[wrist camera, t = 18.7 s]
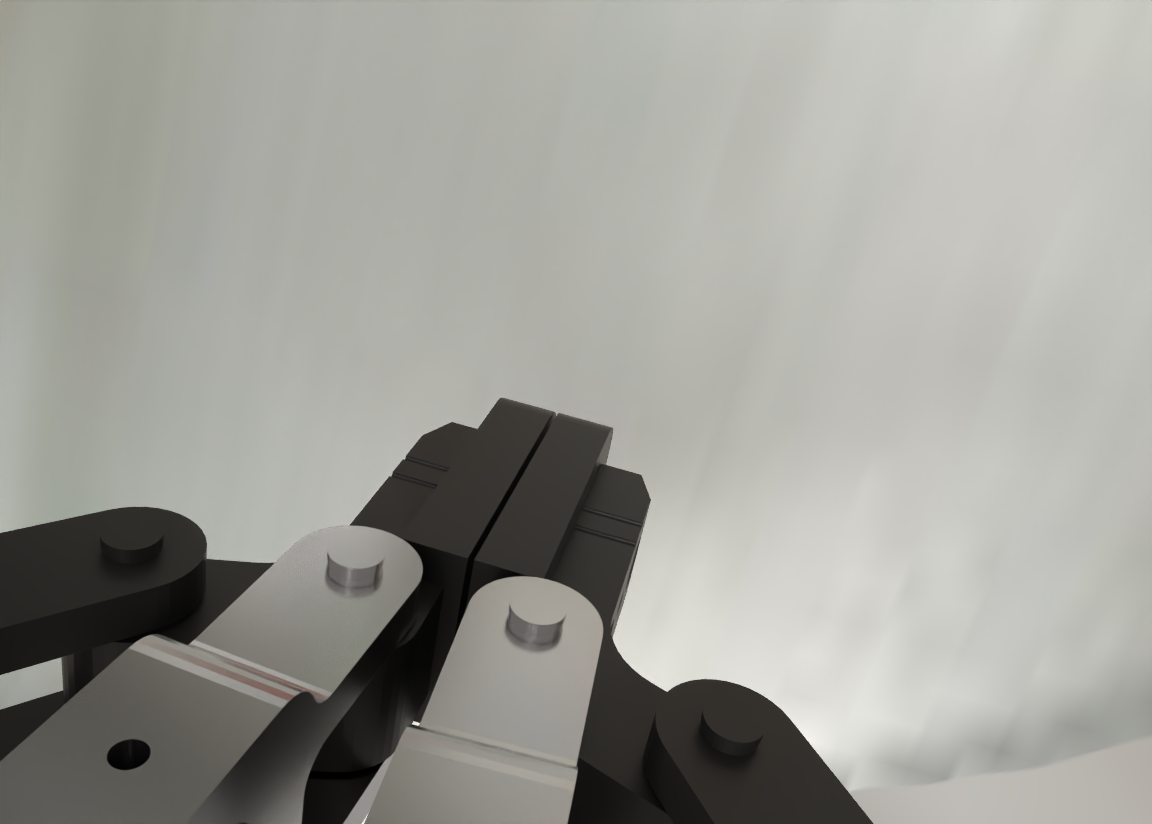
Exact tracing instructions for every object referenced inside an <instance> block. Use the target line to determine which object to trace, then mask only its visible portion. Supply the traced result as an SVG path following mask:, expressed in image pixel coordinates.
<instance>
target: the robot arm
mask: <svg viewBox="0 0 1152 824" xmlns="http://www.w3.org/2000/svg"><path fill="white" fill-rule="evenodd" d="M612 434H613V428H611V427H608V426H604V425H600V424H597V423H593V422H590V421H586V420H582V419H579V418H575V417H572V416H568V415H564V414H561V413H559V414H558V415H557V416H556V413H555V412H553V411H549V410H545V409H542V408H538V407H535V406H531V405H527V404H524V403H520V402H517V401H513V400H509V399H506V398H500V399H499V400H498V401H497V403H496V404H495V406H494V407H493V408H492V410H491V411H490V413H489V414H488V415H487V417H486V418H485V420H484V421H483V422H482V424H481V425H480V427H479V428H478V429H475V428H471V427H468V426H464V425H461V424H457V423H453V422H451V423H449V424H447V425H445V426H442V427H440V428H438V429H436V430H434V431H431V432H429V433H427V434H425V435H423V436H422V437H421V438H420V439H419V440H418V442H417V443H416V444H415V445H414V447H413V448H412V449H411V450H410V452H409V453H408V454H407V455H406V459H405V460H402V461H401V463H400V464H399V465H398V466H397V468H396V469H395V470H394V471H393V474H392V477H390V476H389V477H388V479H387V480H386V481H385V482H384V484H383V485H382V486H381V487H380V489H379V490H378V491H377V492H376V494H375V495H374V496H373V497H372V498H371V500H370V501H369V502H368V503H367V505H366V506H365V507H364V508H363V510H362V511H361V512H360V513H359V514H358V516H357V517H356V518H355V519H354V521H353V522H352V523H351V524H350V526H337V527H330V528H326V529H321V530H318V531H316V532H313V533H310V534H309V535H307V536H305V537H303V538H302V539H300V540H299V541H298V542H296V543H295V544H294V545H293V546H292V547H291V548H290V549H289V550H288V551H287V552H286V553H285V554H284V555H283V556H282V557H281V558H279V559H278V560H277V561H276V562H275V563H252V562H239V561H225V560H212V559H206V556H207V542H206V537H205V535H204V533H203V531H202V530H201V529H200V528H199V526H198V525H197V524H195V523H194V522H193V521H191V520H190V519H188V518H186V517H184V516H182V515H180V514H178V513H175V512H172V511H168V510H163V509H159V508H150V507H126V508H118V509H111V510H106V511H102V512H97V513H92V514H88V515H83V516H78V517H74V518H69V519H64V520H60V521H55V522H50V523H46V524H41V525H36V526H32V527H27V528H22V529H17V530H13V531H8V532H3V533H0V675H2V674H5V673H9V672H12V671H15V670H19V669H22V668H26V667H29V666H33V665H36V664H40V663H43V662H46V661H50V660H53V659H57V658H60V657H61V658H62V676H63V691H60V692H56V693H53V694H50V695H47V696H43V697H40V698H37V699H34V700H30V701H27V702H24V703H21V704H18V705H14V706H11V707H8V708H5V709H1V710H0V824H361V823H362V822H363V820H364V819H365V817H366V816H367V814H368V812H369V814H368V816H367V818H366V821H365V823H364V824H873V823H872V821H871V820H870V819H869V818H868V816H867V815H866V814H865V813H864V811H863V810H862V809H861V808H860V806H859V805H858V804H857V802H856V801H855V800H854V799H853V798H852V796H851V795H850V794H849V792H848V791H847V790H846V789H845V787H844V786H843V785H842V784H841V782H840V781H839V780H838V779H837V777H836V776H835V775H834V774H833V772H832V771H831V770H830V769H829V767H828V766H827V765H826V764H825V762H824V761H823V760H822V759H821V757H820V756H819V755H818V754H817V752H816V751H815V750H814V749H813V747H812V746H811V745H810V744H809V742H808V741H807V740H806V739H805V737H804V736H803V735H802V734H801V732H800V731H799V730H798V729H797V727H796V726H795V725H794V724H793V722H792V721H791V720H790V719H789V717H788V716H787V715H786V714H785V713H784V712H783V711H782V710H781V709H780V708H779V707H777V706H776V705H775V704H774V703H773V702H771V701H770V700H768V699H767V698H765V697H764V696H762V695H761V694H759V693H757V692H755V691H753V690H751V689H749V688H746V687H744V686H741V685H738V684H735V683H731V682H727V681H721V680H712V679H701V680H692V681H688V682H685V683H682V684H679V685H677V686H675V687H673V688H672V689H671V690H669V691H668V692H666V691H664V690H663V689H661V688H659V687H657V686H656V685H654V684H652V683H651V682H649V681H648V680H646V679H645V678H643V677H642V676H640V675H639V674H638V673H637V672H636V671H634V670H633V669H632V668H631V667H630V666H629V665H628V664H627V663H626V662H625V660H624V659H623V658H622V656H621V655H620V654H619V652H618V651H617V648H616V646H615V644H614V642H613V639H612V637H613V634H614V631H615V628H616V625H617V621H618V618H619V615H620V612H621V609H622V606H623V603H624V600H625V596H626V593H627V589H628V585H629V581H630V577H631V574H632V570H633V566H634V562H635V558H636V554H637V551H638V547H639V543H640V539H641V535H642V531H643V527H644V524H645V520H646V516H647V512H648V508H649V504H650V501H651V499H650V497H649V494H648V491H647V489H646V486H645V484H644V481H643V478H642V476H641V475H639V474H636V473H632V472H629V471H625V470H622V469H618V468H614V467H611V466H607V465H606V462H607V458H608V454H609V449H610V445H611V440H612ZM413 721H416V722H419V723H420V725H419V726H416V725H412V723H413Z"/></svg>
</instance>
